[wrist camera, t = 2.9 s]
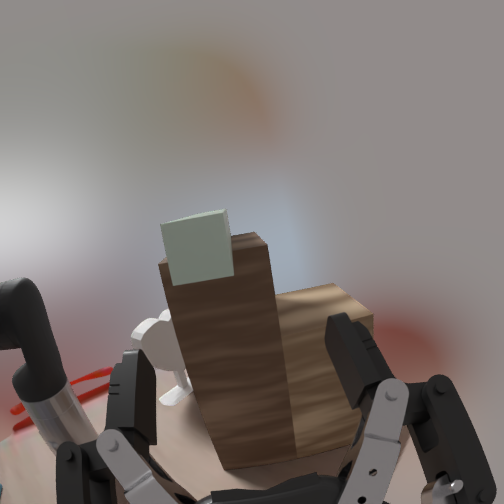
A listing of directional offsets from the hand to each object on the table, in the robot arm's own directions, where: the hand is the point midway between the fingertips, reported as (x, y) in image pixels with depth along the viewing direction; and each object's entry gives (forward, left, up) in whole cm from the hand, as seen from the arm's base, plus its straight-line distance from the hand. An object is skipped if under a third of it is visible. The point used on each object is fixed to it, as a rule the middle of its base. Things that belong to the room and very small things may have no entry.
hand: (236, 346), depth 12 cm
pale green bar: (+16, +11, +1) cm, 20 cm away
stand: (+23, +9, -31) cm, 39 cm away
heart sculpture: (+28, +35, -31) cm, 54 cm away
